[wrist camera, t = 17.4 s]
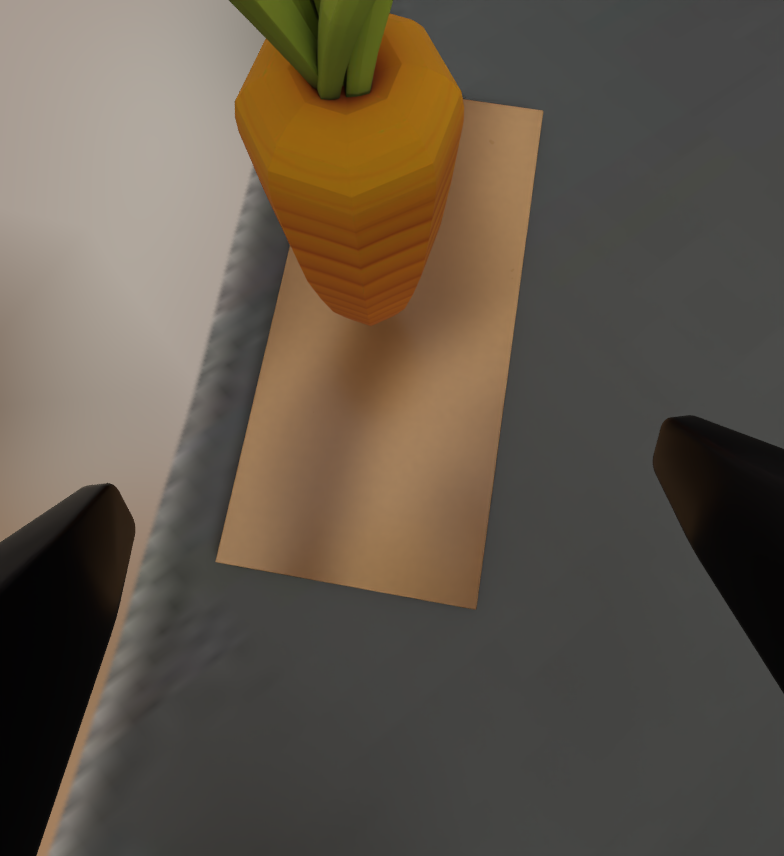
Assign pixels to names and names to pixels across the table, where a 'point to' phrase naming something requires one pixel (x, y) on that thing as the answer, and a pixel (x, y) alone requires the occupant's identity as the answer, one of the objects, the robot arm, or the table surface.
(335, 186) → the carrot
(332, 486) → the wooden board
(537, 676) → the table surface
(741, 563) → the robot arm
